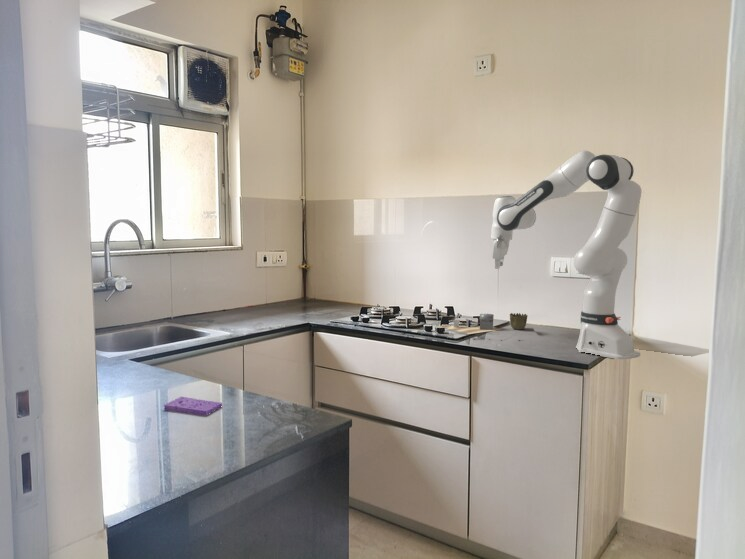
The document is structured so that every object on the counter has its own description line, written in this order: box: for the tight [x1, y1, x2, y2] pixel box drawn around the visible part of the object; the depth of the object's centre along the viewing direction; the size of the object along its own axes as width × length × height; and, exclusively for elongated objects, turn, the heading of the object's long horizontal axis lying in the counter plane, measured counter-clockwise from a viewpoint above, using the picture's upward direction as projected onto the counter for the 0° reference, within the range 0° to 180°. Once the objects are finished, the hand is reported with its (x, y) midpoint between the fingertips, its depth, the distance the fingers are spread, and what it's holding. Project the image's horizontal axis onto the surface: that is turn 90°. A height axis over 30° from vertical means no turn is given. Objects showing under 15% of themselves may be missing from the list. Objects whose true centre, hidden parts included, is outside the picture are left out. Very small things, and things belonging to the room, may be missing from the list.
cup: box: [509, 312, 528, 331], centre depth 245 cm, size 8×7×8 cm
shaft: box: [453, 319, 461, 328], centre depth 248 cm, size 2×2×3 cm
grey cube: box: [479, 313, 495, 330], centre depth 246 cm, size 6×6×6 cm
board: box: [436, 324, 503, 335], centre depth 247 cm, size 20×20×2 cm
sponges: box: [163, 396, 223, 416], centre depth 143 cm, size 7×13×2 cm, turn 72°
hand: (498, 267), depth 243 cm, fingers open, 8 cm apart
